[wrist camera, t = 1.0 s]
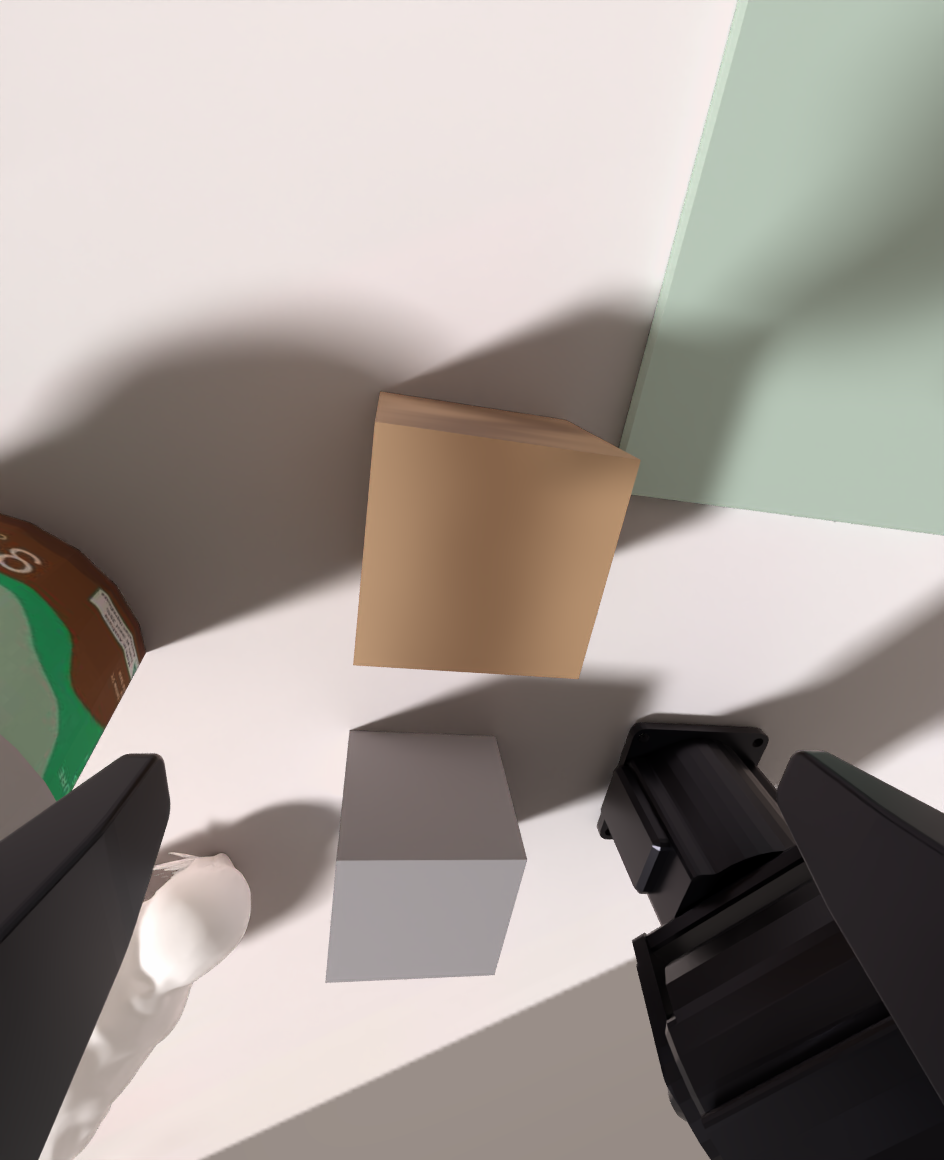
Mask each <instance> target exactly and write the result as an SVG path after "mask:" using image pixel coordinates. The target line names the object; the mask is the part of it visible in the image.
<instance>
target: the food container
mask: <svg viewBox="0 0 944 1160" xmlns="http://www.w3.org/2000/svg"><path fill="white" fill-rule="evenodd" d="M145 654H146V651H145V647H144V642H143V638H142V634H141V630H140V626H139V623H138V621H137V620H136V618H135V616H134V615H133V613H132V611H131V609H130V608H129V606H128V604H127V603H126V601H125V599H124V598H123V596H122V594H121V593H120V591H119V589H118V587H117V586H116V585H115V584H114V583H113V582H112V581H111V580H110V579H109V578H108V577H107V576H106V575H105V574H104V573H103V572H102V571H101V570H100V569H99V568H97V567H96V566H95V565H94V564H93V563H92V562H91V561H90V560H89V559H88V558H87V557H86V556H85V555H84V554H83V553H82V552H81V551H80V550H78V549H76V548H75V547H73V546H71V545H69V544H67V543H66V542H64V541H62V540H60V539H59V538H57V537H55V536H53V535H52V534H50V533H48V532H46V531H44V530H43V529H41V528H39V527H37V526H36V525H34V524H32V523H30V522H27V521H23V520H20V519H17V518H14V517H10V516H7V515H4V514H0V841H1V840H2V839H3V838H5V837H6V836H8V835H9V834H11V833H12V832H13V831H15V830H16V829H18V828H19V827H21V826H22V825H23V824H25V823H26V822H28V821H29V820H31V819H32V818H34V817H35V816H36V815H38V814H39V813H41V812H42V811H44V810H45V809H46V808H48V807H49V806H51V805H52V804H54V803H55V802H56V801H58V800H59V799H61V798H62V797H64V796H65V795H66V794H68V793H69V792H71V791H72V789H73V787H74V786H75V784H76V782H77V780H78V778H79V776H80V774H81V773H82V771H83V769H84V767H85V765H86V763H87V761H88V760H89V758H90V756H91V754H92V752H93V750H94V748H95V747H96V745H97V743H98V741H99V739H100V737H101V735H102V734H103V732H104V730H105V728H106V726H107V724H108V722H109V721H110V719H111V717H112V715H113V713H114V711H115V709H116V708H117V706H118V704H119V702H120V700H121V698H122V696H123V695H124V693H125V691H126V689H127V687H128V685H129V683H130V681H131V680H132V678H133V676H134V674H135V672H136V670H137V668H138V667H139V665H140V663H141V661H142V659H143V657H144V655H145Z"/></svg>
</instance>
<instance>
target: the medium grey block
mask: <svg viewBox="0 0 944 1160" xmlns="http://www.w3.org/2000/svg"><path fill="white" fill-rule="evenodd" d="M526 862H527V857H526V853H525V850H524V846H523V842H522V838H521V834H520V830H519V826H518V822H517V818H516V814H515V810H514V807H513V803H512V799H511V795H510V791H509V787H508V783H507V779H506V775H505V771H504V768H503V764H502V760H501V756H500V752H499V748H498V744H497V740H496V736H479V735H454V734H429V733H404V732H379V731H354V730H350V732H349V741H348V751H347V761H346V771H345V781H344V790H343V800H342V810H341V820H340V830H339V839H338V849H337V859H336V870H335V881H334V893H333V904H332V915H331V926H330V937H329V949H328V960H327V971H326V982H325V983H331V982H353V981H374V980H396V979H418V978H440V977H462V976H484V975H494V974H495V971H496V967H497V964H498V960H499V957H500V953H501V950H502V946H503V943H504V939H505V936H506V932H507V929H508V925H509V922H510V918H511V914H512V911H513V907H514V904H515V900H516V897H517V893H518V890H519V886H520V883H521V879H522V876H523V872H524V869H525V865H526Z"/></svg>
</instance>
